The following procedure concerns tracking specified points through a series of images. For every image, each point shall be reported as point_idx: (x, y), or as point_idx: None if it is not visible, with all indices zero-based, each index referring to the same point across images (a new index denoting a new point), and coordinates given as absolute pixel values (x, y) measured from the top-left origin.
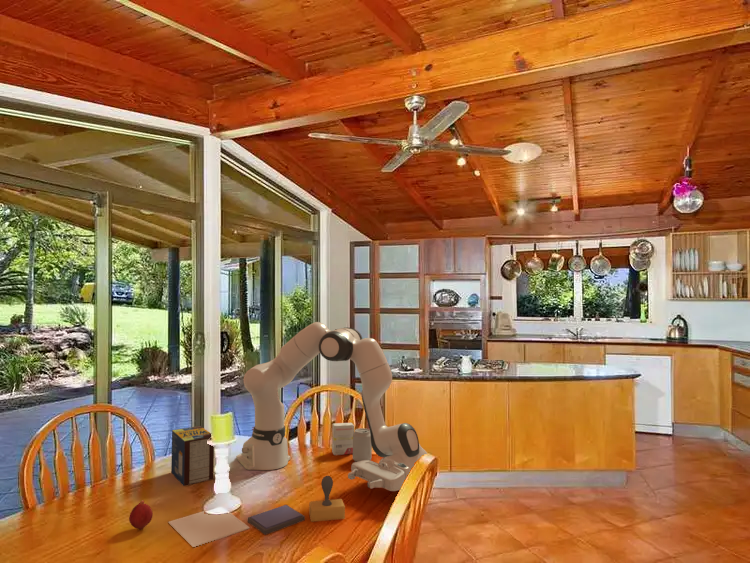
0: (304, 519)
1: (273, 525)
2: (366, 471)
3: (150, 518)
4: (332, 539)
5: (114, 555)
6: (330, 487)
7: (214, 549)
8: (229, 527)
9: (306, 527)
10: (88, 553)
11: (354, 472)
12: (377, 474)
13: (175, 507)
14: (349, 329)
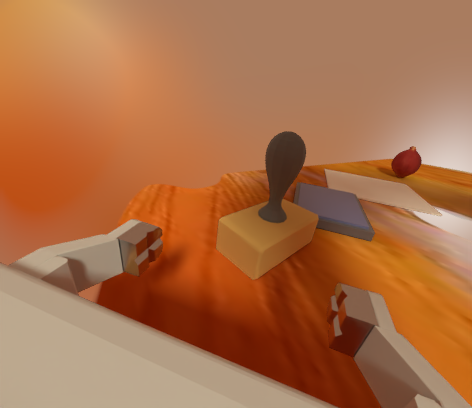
0: None
1: (300, 186)
2: (260, 376)
3: (397, 165)
4: (197, 196)
5: (353, 162)
6: (265, 160)
7: (307, 171)
8: (346, 187)
9: None
10: (368, 162)
11: (390, 359)
12: (69, 296)
13: (463, 203)
14: None
